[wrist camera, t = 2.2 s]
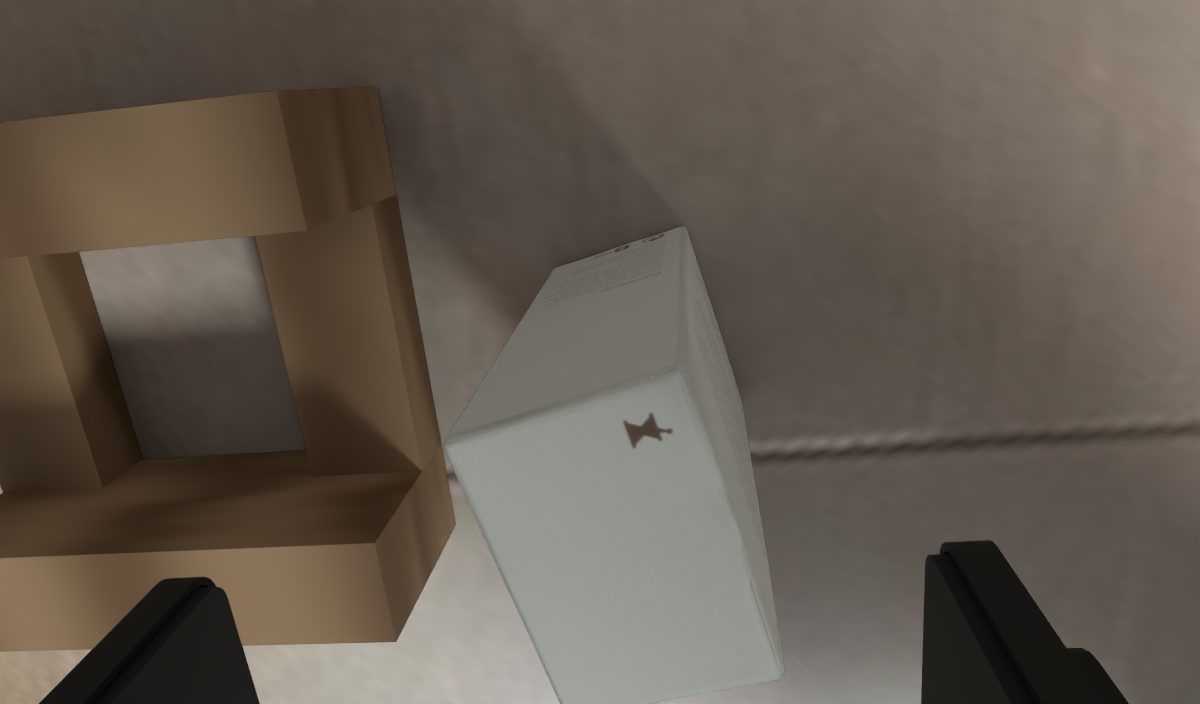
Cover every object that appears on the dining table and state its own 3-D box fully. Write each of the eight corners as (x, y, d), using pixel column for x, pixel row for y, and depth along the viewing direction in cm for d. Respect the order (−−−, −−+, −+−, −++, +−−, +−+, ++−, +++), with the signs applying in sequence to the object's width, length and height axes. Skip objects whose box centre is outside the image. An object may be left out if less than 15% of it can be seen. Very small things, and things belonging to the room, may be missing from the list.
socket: (376, 87, 23) (276, 90, 17) (455, 524, 27) (396, 641, 22) (-65, 137, 25) (-288, 154, 19) (75, 540, 29) (-72, 653, 23)
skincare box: (548, 266, 24) (429, 433, 13) (686, 221, 23) (689, 357, 12) (615, 445, 26) (562, 732, 15) (746, 409, 25) (798, 683, 14)
